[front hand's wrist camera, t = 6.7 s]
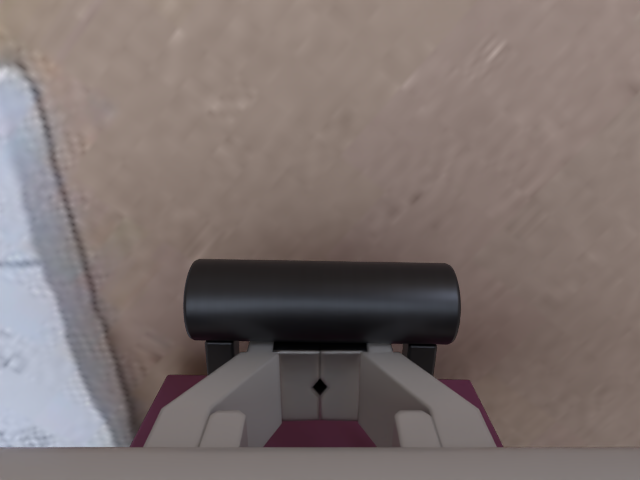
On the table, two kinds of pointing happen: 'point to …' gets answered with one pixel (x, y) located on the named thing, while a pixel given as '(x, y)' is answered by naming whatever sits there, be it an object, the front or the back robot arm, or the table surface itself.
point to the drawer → (317, 323)
